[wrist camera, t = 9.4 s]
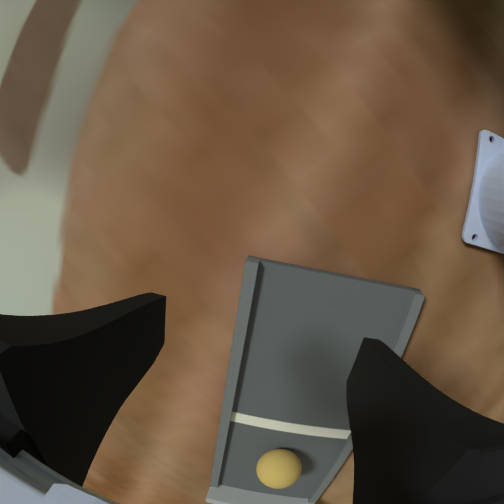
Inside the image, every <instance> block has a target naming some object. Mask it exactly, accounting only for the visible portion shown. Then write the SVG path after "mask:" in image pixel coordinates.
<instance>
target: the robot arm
mask: <svg viewBox="0 0 504 504" xmlns="http://www.w3.org/2000/svg"><path fill="white" fill-rule="evenodd" d="M489 137H491V139H492V142H490V140H489ZM474 234H475V238H474V239H473V240H472V236H473V235H474ZM462 239H463V241H464V242H466V243H469V244H472V245H476V246H479V247H482V248H486V249H489V250H492V251H496V252H499V253H502V254H504V138H502V137H500V136H498V135H496V134H494V133H492V132H490V131H488V130H482V131H480V132H479V139H478V148H477V156H476V164H475V171H474V177H473V183H472V189H471V194H470V199H469V204H468V209H467V214H466V218H465V223H464V227H463V231H462ZM165 311H166V296H163V295H159V294H155V293H152V292H151V293H145V294H141V295H137V296H134V297H131V298H127V299H124V300H121V301H117V302H114V303H110V304H107V305H103V306H99V307H95V308H91V309H87V310H83V311H78V312H72V313H65V314H57V315H44V316H13V315H1V314H0V504H119V503H116V502H114V501H112V500H110V499H108V498H106V497H103V496H101V495H99V494H96V493H94V492H91V491H89V490H87V489H85V488H83V487H82V486H83V483H84V481H85V478H86V475H87V473H88V470H89V468H90V465H91V463H92V461H93V459H94V457H95V454H96V452H97V450H98V448H99V446H100V444H101V442H102V440H103V438H104V436H105V434H106V432H107V430H108V428H109V426H110V425H111V423H112V421H113V419H114V417H115V416H116V414H117V412H118V410H119V409H120V407H121V406H122V404H123V403H124V401H125V400H126V399H127V397H128V396H129V395H130V393H131V392H132V391H133V390H134V388H135V387H136V386H137V384H138V383H139V382H140V380H141V379H142V378H143V376H144V375H145V374H146V372H147V371H148V370H149V368H150V367H151V366H152V364H153V363H154V361H155V360H156V358H157V356H158V354H159V352H160V350H161V348H162V347H163V345H164V339H165ZM346 397H347V410H348V417H349V424H350V431H351V438H352V445H353V452H354V491H353V504H504V424H503V423H500V422H497V421H495V420H492V419H490V418H487V417H485V416H482V415H480V414H478V413H476V412H474V411H472V410H470V409H468V408H466V407H465V406H463V405H461V404H459V403H457V402H456V401H454V400H452V399H451V398H449V397H448V396H447V395H445V394H444V393H442V392H441V391H439V390H438V389H436V388H435V387H434V386H432V385H431V384H430V383H429V382H427V381H426V380H425V379H424V378H423V377H421V376H420V375H419V374H418V373H417V372H416V371H414V370H413V369H412V368H411V367H410V366H409V365H408V364H407V363H406V362H405V361H403V360H402V359H401V358H400V357H399V356H398V355H397V354H396V353H395V352H394V351H393V350H392V349H391V348H389V347H388V346H387V345H386V344H385V343H383V342H382V341H381V340H379V339H373V338H366V337H364V338H363V341H362V343H361V346H360V349H359V351H358V354H357V357H356V359H355V362H354V364H353V367H352V369H351V372H350V374H349V377H348V379H347V381H346Z"/></svg>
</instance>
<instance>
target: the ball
mask: <svg viewBox="0 0 504 504" xmlns="http://www.w3.org/2000/svg"><path fill="white" fill-rule="evenodd" d="M256 471H257V476H258V478H259V479H260V481H261V482H262V483H263V484H265V485H266V486H268V487H271V488H275V489H282V488H286V487H289V486H291V485H292V484H294V483H295V482H296V481H297V480H298V478H299V477H300V475H301V471H302V465H301V462H300V459H299V458H298V457H297V456H296V455H295V454H294V453H293V452H291V451H289V450H286V449H274V450H270V451H268V452H266V453H265V454H264V455H263V456H262V457H261V458H260V459H259V461H258V463H257V467H256Z"/></svg>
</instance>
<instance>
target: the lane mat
mask: <svg viewBox="0 0 504 504" xmlns="http://www.w3.org/2000/svg"><path fill="white" fill-rule="evenodd" d="M424 298H425V295H424V294H423V293H422V292H421V291H420V289H415V288H410V287H405V286H400V285H394V284H389V283H384V282H379V281H374V280H369V279H364V278H359V277H354V276H348V275H343V274H338V273H333V272H328V271H323V270H318V269H313V268H308V267H303V266H298V265H293V264H288V263H283V262H278V261H273V260H268V259H263V258H258V257H253V256H248V258H247V260H246V262H245V268H244V274H243V280H242V286H241V292H240V299H239V305H238V311H237V317H236V324H235V330H234V336H233V342H232V349H231V355H230V361H229V368H228V374H227V380H226V387H225V393H224V399H223V406H222V412H221V419H220V425H219V431H218V438H217V444H216V451H215V457H214V464H213V470H212V477H211V483H210V488H209V491H208V494H207V497H206V502H208V503H212V504H315V502H316V501H317V500H318V498H319V497H320V496H321V494H322V493H323V492H324V490H325V489H326V488H327V486H328V485H329V483H330V482H331V481H332V479H333V478H334V476H335V475H336V473H337V472H338V470H339V469H340V467H341V466H342V464H343V463H344V461H345V460H346V458H347V457H348V455H349V454H350V452H351V451H352V449H353V445H352V438H351V431H350V424H349V417H348V410H347V397H346V381H347V379H348V377H349V374H350V372H351V369H352V367H353V364H354V362H355V359H356V357H357V354H358V351H359V349H360V346H361V343H362V341H363V338H364V337H366V338H373V339H379V340H381V341H382V342H383V343H385V344H386V345H387V346H388V347H389V348H391V349H392V350H393V351H394V352H395V353H396V354H397V355H398V356H399V357H400V358H401V356H402V354H403V352H404V350H405V347H406V345H407V342H408V340H409V338H410V335H411V333H412V330H413V328H414V325H415V323H416V320H417V317H418V315H419V312H420V309H421V307H422V304H423V301H424ZM274 449H286V450H289V451H291V452H293V453H294V454H295V455H296V456H297V457H298V458H299V459H300V462H301V465H302V471H301V475H300V477H299V478H298V480H297V481H296V482H295V483H294V484H292V485H291V486H289V487H286V488H282V489H275V488H271V487H268V486H266V485H265V484H263V483H262V482H261V481H260V479H259V478H258V476H257V471H256V467H257V463H258V461H259V459H260V458H261V457H262V456H263V455H264V454H265V453H266V452H268V451H270V450H274Z"/></svg>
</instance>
